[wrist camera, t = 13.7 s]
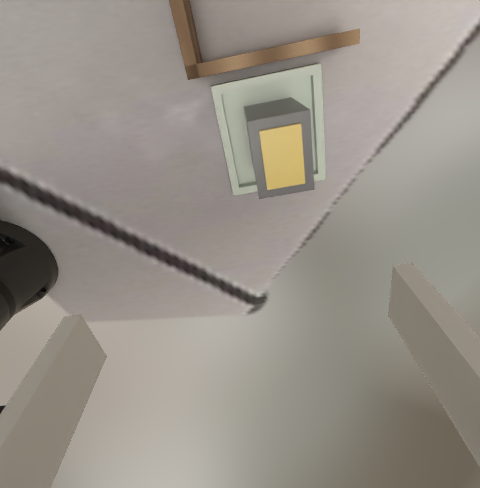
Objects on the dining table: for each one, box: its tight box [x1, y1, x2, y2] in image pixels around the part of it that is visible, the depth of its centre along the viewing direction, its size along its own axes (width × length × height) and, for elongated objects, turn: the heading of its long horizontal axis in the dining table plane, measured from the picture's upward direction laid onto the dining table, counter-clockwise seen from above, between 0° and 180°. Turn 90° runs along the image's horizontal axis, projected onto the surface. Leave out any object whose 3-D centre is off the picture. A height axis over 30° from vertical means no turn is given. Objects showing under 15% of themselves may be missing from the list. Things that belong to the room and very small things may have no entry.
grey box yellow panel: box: [244, 97, 314, 199], centre depth 35 cm, size 6×8×11 cm
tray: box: [211, 63, 326, 196], centre depth 40 cm, size 13×14×2 cm
